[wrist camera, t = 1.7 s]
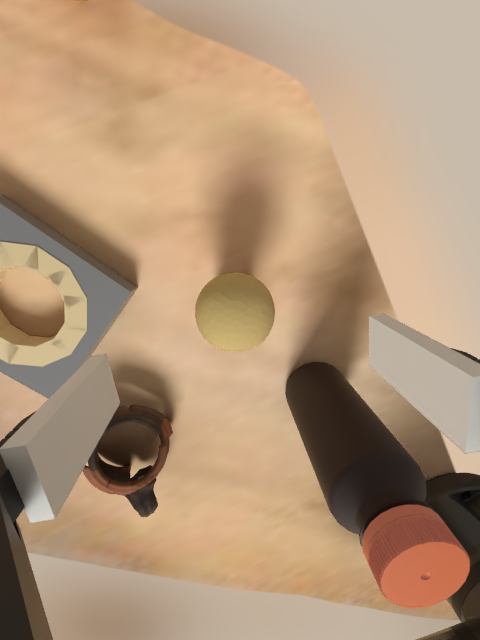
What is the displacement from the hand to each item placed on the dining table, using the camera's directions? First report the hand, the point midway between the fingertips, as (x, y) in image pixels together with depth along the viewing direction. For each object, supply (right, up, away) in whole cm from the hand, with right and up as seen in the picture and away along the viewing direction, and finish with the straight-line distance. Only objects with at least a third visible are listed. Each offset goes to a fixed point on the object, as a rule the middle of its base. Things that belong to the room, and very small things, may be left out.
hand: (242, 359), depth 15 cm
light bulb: (-1, +5, +16) cm, 17 cm away
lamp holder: (-20, +4, +15) cm, 25 cm away
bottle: (+8, -6, +20) cm, 22 cm away
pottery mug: (-12, -12, +21) cm, 27 cm away
